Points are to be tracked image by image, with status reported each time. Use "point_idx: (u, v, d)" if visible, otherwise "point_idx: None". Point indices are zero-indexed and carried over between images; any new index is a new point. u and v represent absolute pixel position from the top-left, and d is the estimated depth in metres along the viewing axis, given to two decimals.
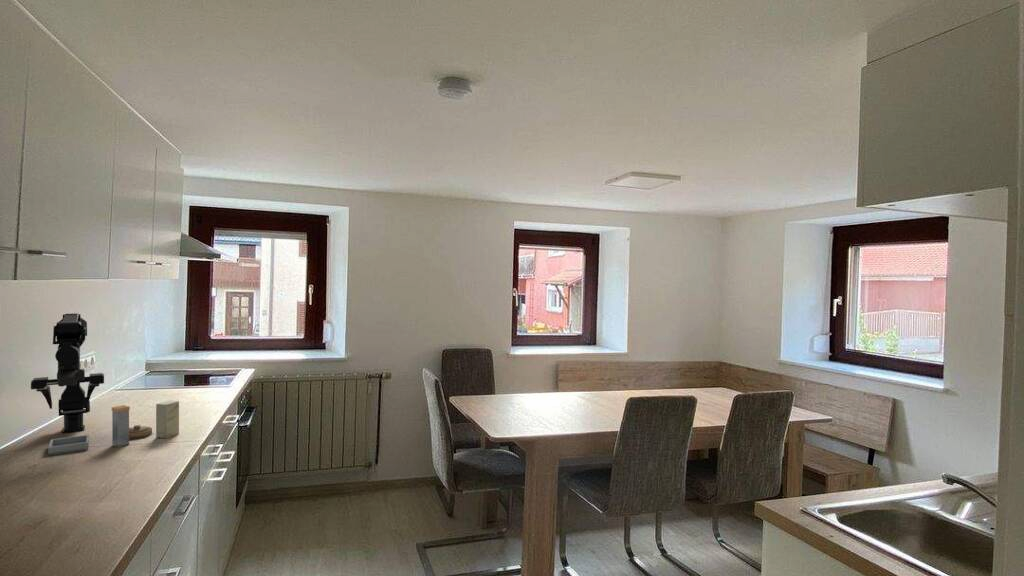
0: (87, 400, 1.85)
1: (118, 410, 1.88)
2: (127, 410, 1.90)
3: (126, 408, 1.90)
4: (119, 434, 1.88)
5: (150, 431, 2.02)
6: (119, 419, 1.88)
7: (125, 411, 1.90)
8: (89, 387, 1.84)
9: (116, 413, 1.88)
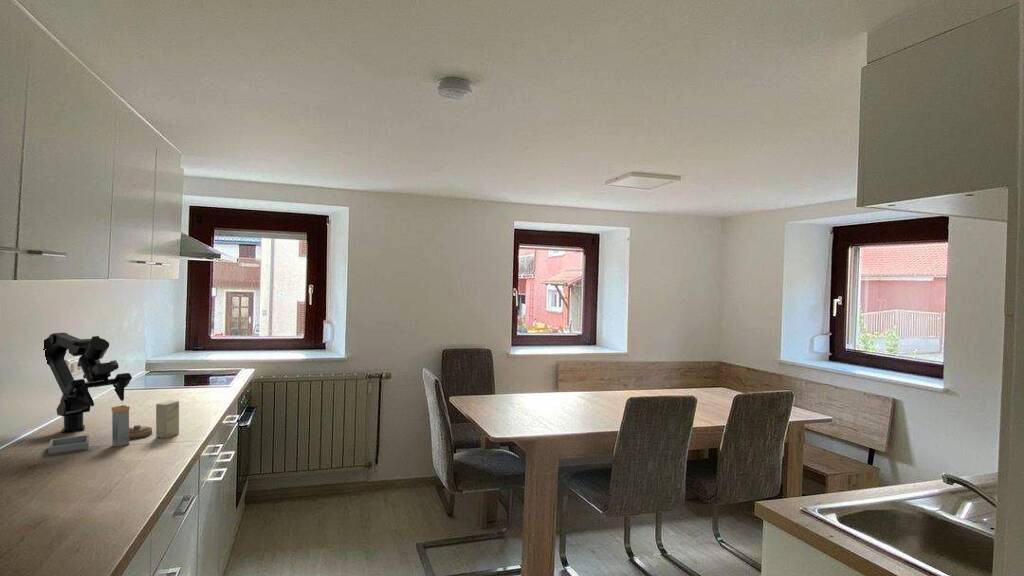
0: (122, 395, 1.98)
1: (118, 410, 1.88)
2: (127, 410, 1.90)
3: (126, 408, 1.90)
4: (119, 434, 1.88)
5: (150, 431, 2.02)
6: (119, 419, 1.88)
7: (125, 411, 1.90)
8: (121, 381, 2.00)
9: (116, 413, 1.88)
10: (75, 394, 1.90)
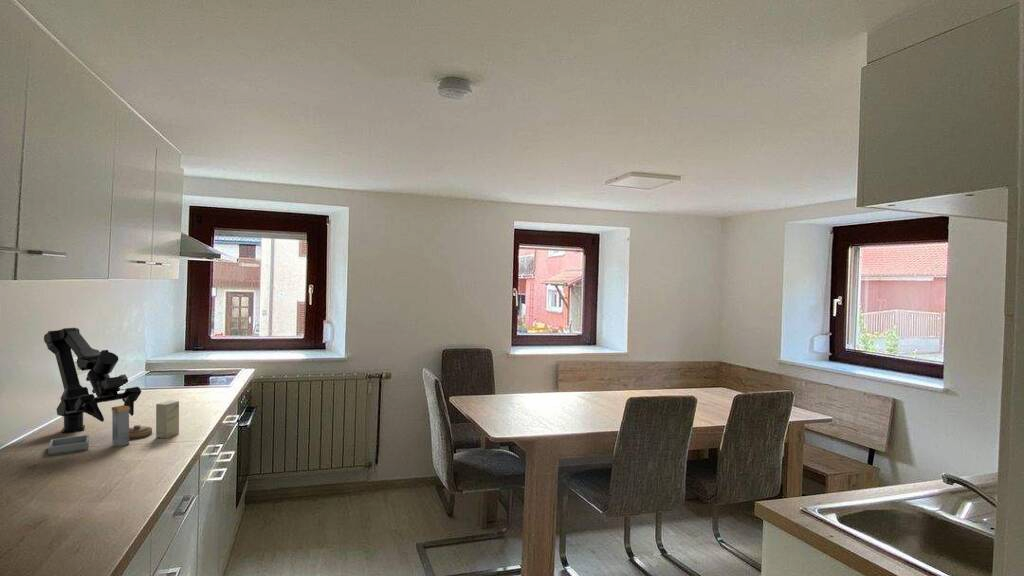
0: (132, 409, 1.95)
1: (118, 410, 1.88)
2: (127, 410, 1.90)
3: (126, 408, 1.90)
4: (119, 434, 1.88)
5: (150, 431, 2.02)
6: (119, 419, 1.88)
7: (125, 411, 1.90)
8: (131, 395, 1.97)
9: (116, 413, 1.88)
10: (84, 409, 1.87)
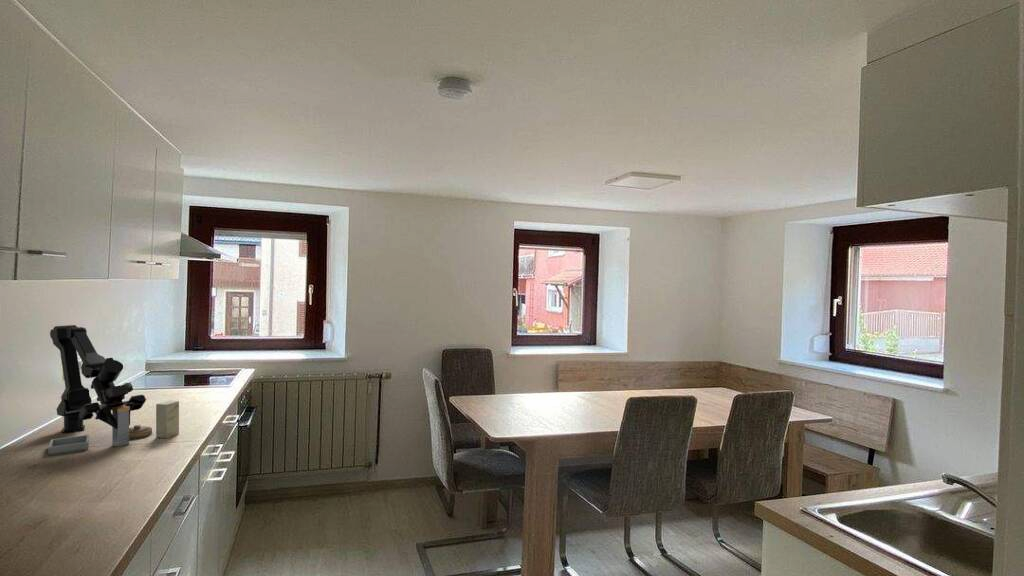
0: None
1: (118, 410, 1.88)
2: (127, 410, 1.90)
3: (126, 408, 1.90)
4: (119, 433, 1.88)
5: (150, 431, 2.02)
6: (119, 419, 1.88)
7: (125, 411, 1.90)
8: (127, 405, 1.93)
9: (116, 413, 1.88)
10: (98, 416, 1.88)
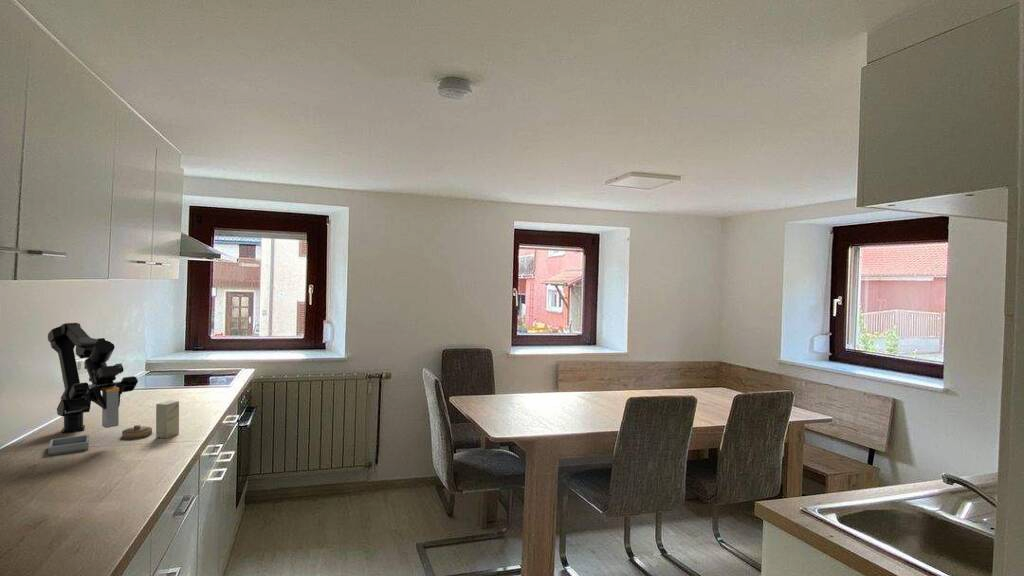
0: None
1: (107, 391, 1.86)
2: (116, 391, 1.88)
3: (115, 389, 1.88)
4: (108, 414, 1.87)
5: (150, 431, 2.02)
6: (108, 400, 1.87)
7: (114, 392, 1.88)
8: (117, 386, 1.91)
9: (105, 394, 1.86)
10: (88, 396, 1.87)
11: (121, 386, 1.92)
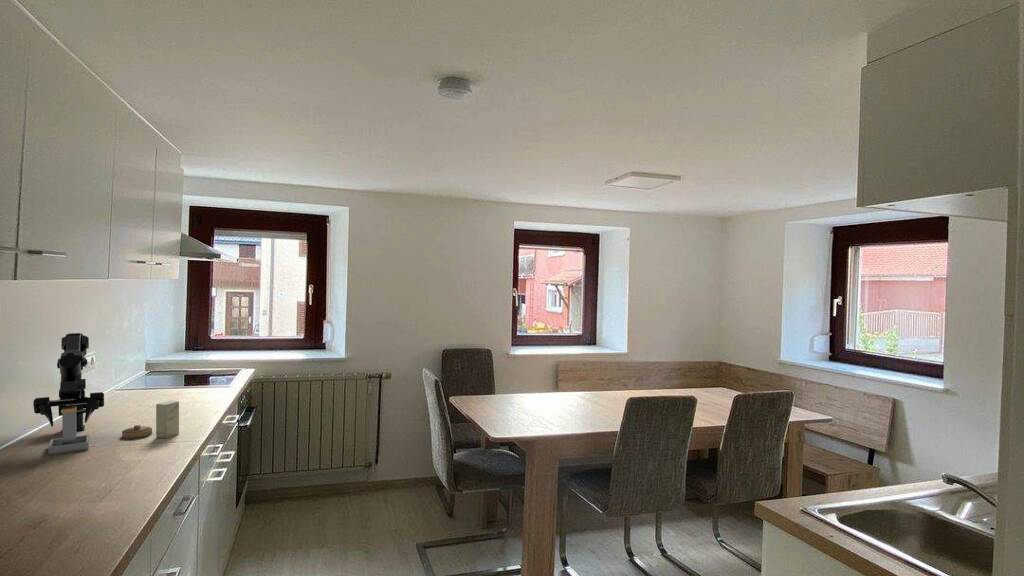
0: (86, 416, 1.88)
1: (62, 411, 1.83)
2: (73, 411, 1.85)
3: (72, 409, 1.84)
4: (64, 435, 1.83)
5: (150, 431, 2.02)
6: (64, 420, 1.83)
7: (71, 412, 1.84)
8: (88, 401, 1.89)
9: (62, 414, 1.84)
10: (42, 412, 1.84)
11: (92, 401, 1.90)
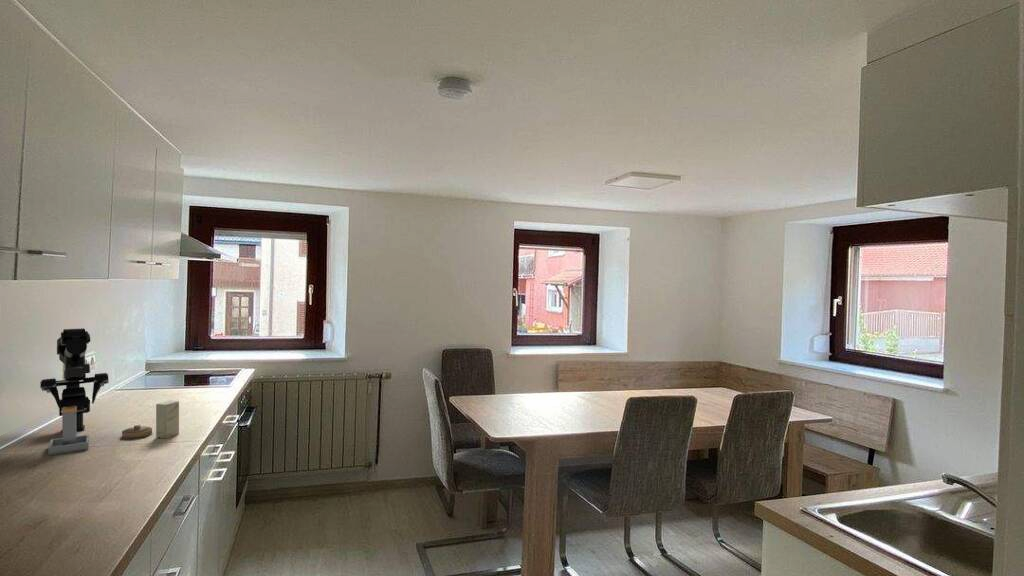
0: (93, 398, 1.96)
1: (62, 411, 1.83)
2: (73, 411, 1.85)
3: (72, 409, 1.84)
4: (64, 435, 1.83)
5: (150, 431, 2.02)
6: (64, 420, 1.83)
7: (71, 412, 1.84)
8: (94, 384, 1.97)
9: (62, 414, 1.84)
10: (48, 391, 1.92)
11: (98, 384, 1.97)
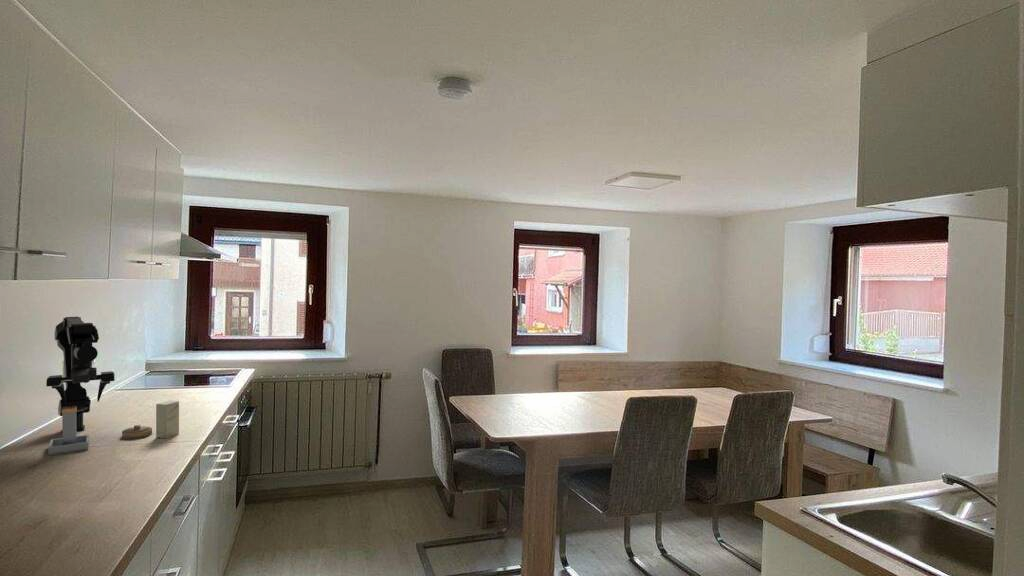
0: (99, 397, 1.97)
1: (62, 411, 1.83)
2: (73, 411, 1.85)
3: (72, 409, 1.84)
4: (64, 435, 1.83)
5: (150, 431, 2.02)
6: (64, 420, 1.83)
7: (71, 412, 1.84)
8: (100, 384, 1.96)
9: (62, 414, 1.84)
10: None
11: (104, 384, 1.96)
